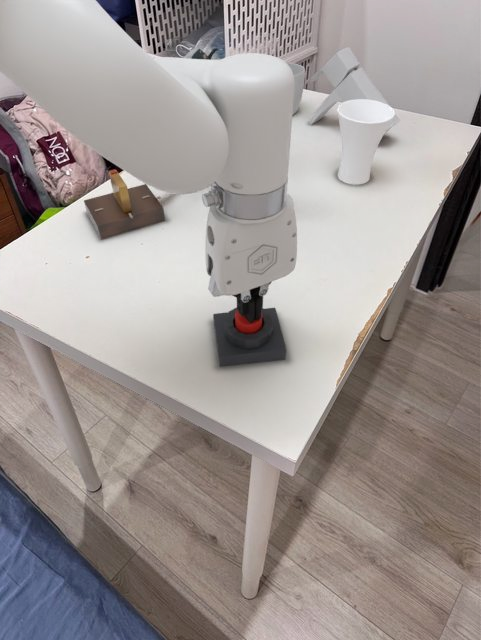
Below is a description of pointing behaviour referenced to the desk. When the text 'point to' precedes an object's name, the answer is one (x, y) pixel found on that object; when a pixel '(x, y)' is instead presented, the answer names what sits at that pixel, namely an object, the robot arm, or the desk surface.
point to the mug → (297, 84)
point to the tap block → (113, 218)
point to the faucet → (347, 84)
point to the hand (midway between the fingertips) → (249, 314)
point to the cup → (361, 137)
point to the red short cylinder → (247, 324)
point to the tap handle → (120, 190)
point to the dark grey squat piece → (248, 340)
